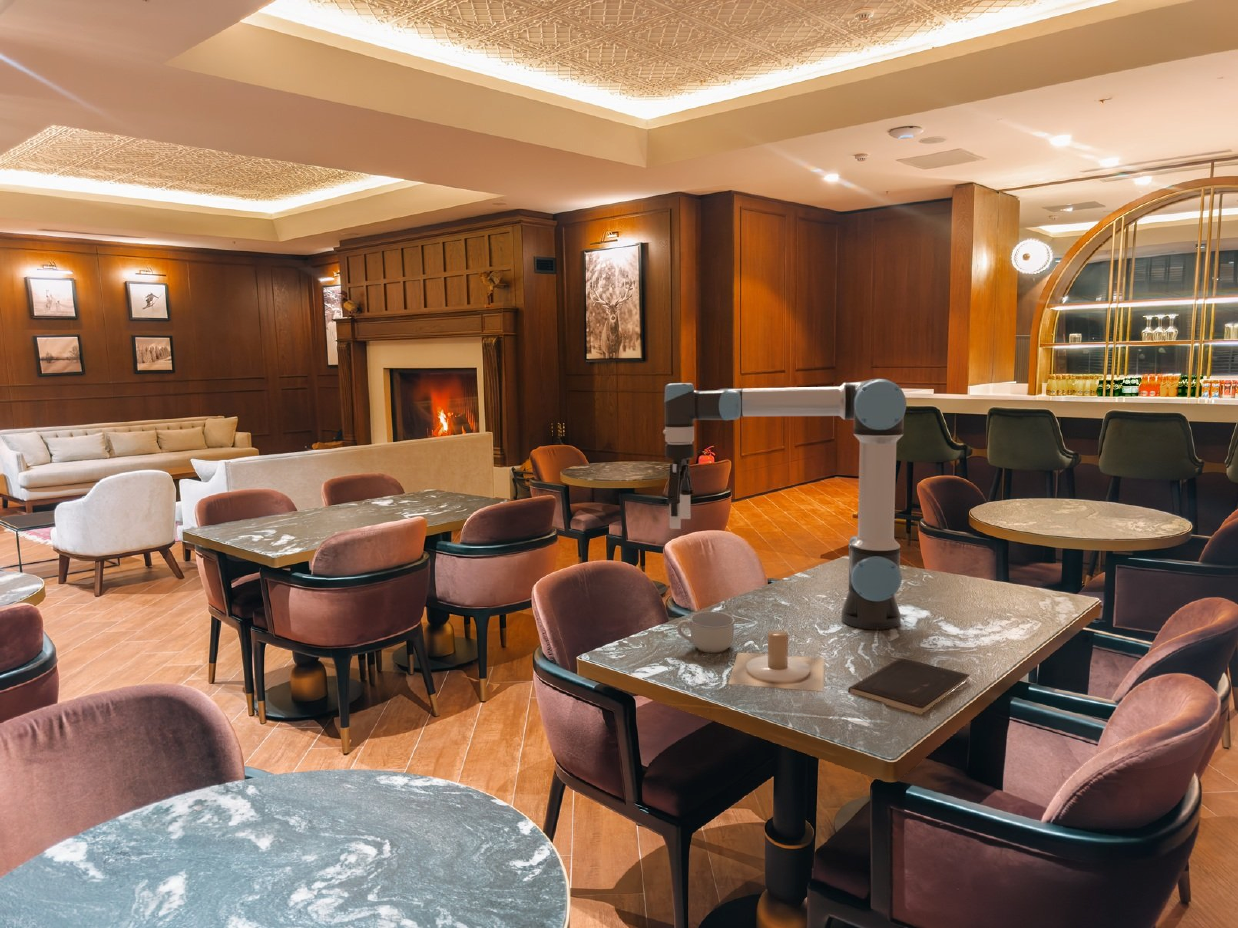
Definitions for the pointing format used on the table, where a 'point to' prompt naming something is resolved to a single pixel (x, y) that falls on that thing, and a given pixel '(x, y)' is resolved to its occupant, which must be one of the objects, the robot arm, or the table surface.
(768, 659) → the lid
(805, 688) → the mat
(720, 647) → the teacup
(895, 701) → the hardcover book
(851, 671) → the table surface
